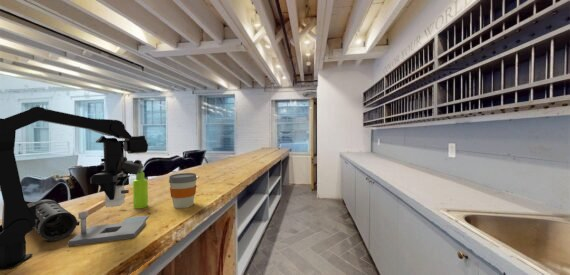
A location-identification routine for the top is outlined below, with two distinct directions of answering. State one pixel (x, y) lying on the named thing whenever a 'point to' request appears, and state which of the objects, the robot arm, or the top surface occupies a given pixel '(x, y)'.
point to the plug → (117, 197)
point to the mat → (135, 219)
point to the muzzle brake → (54, 220)
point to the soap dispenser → (140, 191)
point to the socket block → (100, 235)
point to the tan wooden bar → (91, 209)
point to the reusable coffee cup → (183, 189)
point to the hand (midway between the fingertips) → (115, 197)
